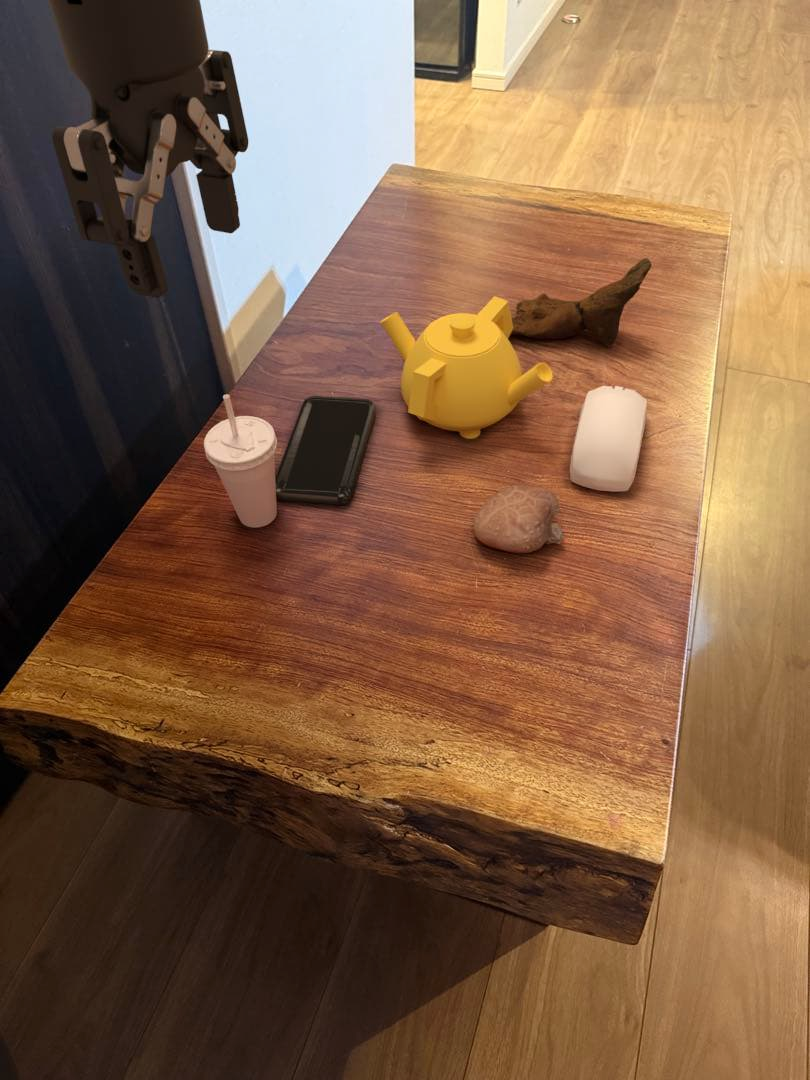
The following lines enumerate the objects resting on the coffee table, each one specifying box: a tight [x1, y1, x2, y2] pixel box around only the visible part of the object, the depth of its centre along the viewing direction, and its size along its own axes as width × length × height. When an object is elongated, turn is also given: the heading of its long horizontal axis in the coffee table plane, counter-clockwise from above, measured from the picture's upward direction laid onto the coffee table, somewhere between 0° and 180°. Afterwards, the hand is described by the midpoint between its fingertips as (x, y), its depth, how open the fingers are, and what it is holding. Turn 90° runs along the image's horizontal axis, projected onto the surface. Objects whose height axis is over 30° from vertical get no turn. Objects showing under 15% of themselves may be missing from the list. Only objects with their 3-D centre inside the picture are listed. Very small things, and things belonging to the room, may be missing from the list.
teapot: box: [380, 295, 554, 440], centre depth 87 cm, size 20×18×11 cm
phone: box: [275, 395, 376, 506], centre depth 86 cm, size 8×1×15 cm
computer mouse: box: [568, 385, 648, 493], centre depth 83 cm, size 6×13×6 cm, turn 163°
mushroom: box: [472, 484, 565, 554], centre depth 77 cm, size 8×6×8 cm
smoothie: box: [203, 393, 278, 529], centre depth 76 cm, size 6×6×14 cm
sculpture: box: [510, 257, 652, 347], centre depth 96 cm, size 8×10×15 cm
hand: (189, 260), depth 54 cm, fingers open, 8 cm apart
